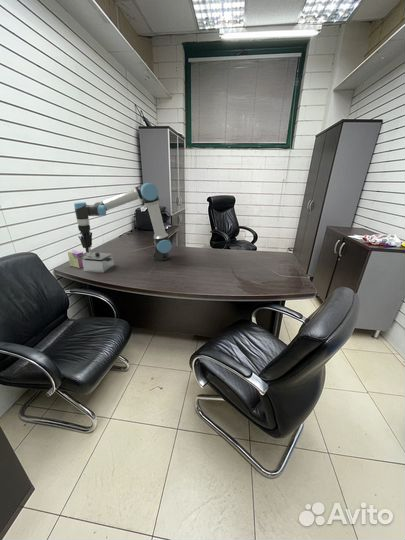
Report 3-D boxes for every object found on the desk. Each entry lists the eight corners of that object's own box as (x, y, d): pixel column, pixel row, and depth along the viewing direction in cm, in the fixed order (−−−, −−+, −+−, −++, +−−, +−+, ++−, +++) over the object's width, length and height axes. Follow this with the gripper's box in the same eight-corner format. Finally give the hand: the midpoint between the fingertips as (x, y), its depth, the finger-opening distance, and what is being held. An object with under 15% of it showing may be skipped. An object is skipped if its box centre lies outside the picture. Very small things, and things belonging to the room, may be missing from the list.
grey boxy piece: (116, 265, 178) (114, 255, 175) (106, 273, 164) (104, 261, 161) (93, 263, 180) (91, 253, 177) (81, 270, 167) (79, 259, 163)
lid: (112, 254, 175) (111, 251, 174) (101, 260, 161) (101, 256, 160) (94, 253, 176) (93, 250, 176) (81, 258, 162) (81, 254, 161)
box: (85, 265, 176) (83, 251, 171) (79, 268, 171) (76, 253, 166) (76, 263, 180) (74, 249, 175) (70, 265, 175) (67, 251, 170)
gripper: (84, 222, 162) (89, 252, 171) (72, 226, 150) (79, 258, 159) (94, 223, 161) (98, 253, 170) (82, 226, 149) (88, 259, 158)
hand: (89, 255), depth 165 cm, fingers closed
